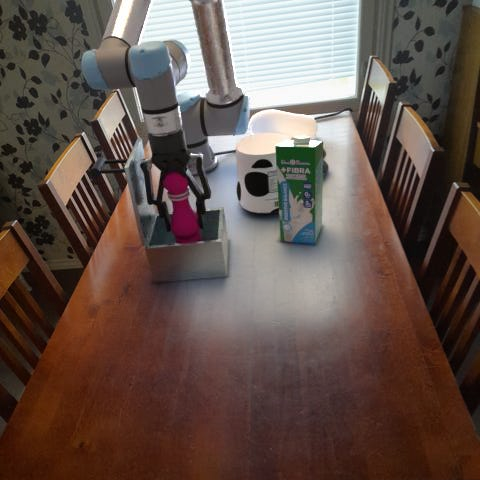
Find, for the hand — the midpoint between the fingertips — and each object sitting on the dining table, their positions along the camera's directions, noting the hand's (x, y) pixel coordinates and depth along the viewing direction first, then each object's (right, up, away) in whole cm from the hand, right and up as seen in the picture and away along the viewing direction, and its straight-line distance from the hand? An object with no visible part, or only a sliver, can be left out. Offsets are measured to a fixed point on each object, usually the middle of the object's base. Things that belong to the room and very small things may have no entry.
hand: (185, 227), depth 109 cm
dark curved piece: (+32, +24, +37) cm, 54 cm away
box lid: (-9, +7, -6) cm, 13 cm away
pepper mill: (0, -3, +3) cm, 4 cm away
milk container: (+21, +11, +24) cm, 34 cm away
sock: (+29, +43, +58) cm, 78 cm away
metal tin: (+1, -7, +7) cm, 10 cm away
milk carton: (+29, 0, +11) cm, 31 cm away
